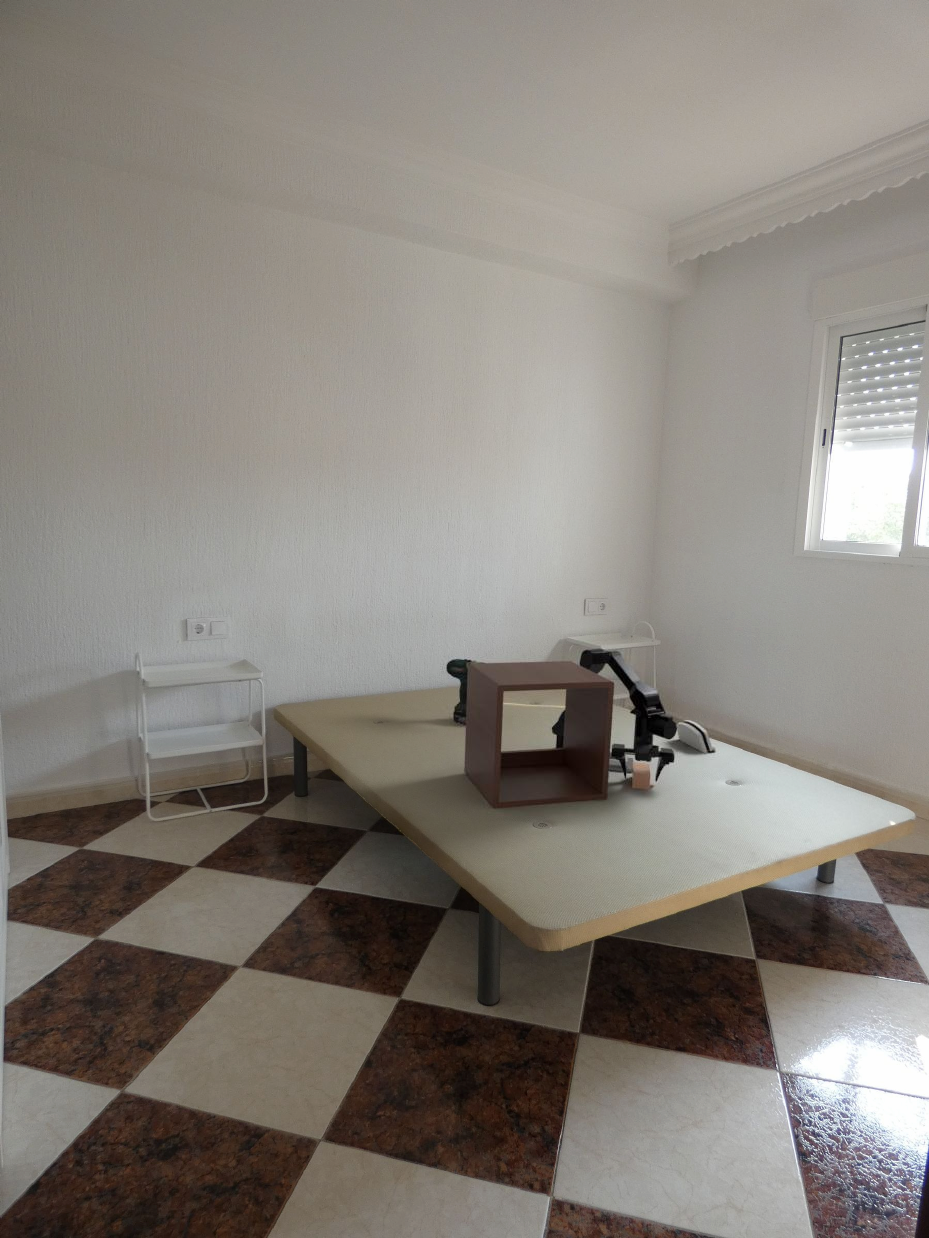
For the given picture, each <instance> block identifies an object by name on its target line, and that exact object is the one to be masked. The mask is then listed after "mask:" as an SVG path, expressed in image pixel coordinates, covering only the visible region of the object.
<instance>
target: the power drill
mask: <svg viewBox="0 0 929 1238" xmlns="http://www.w3.org/2000/svg"><path fill="white" fill-rule="evenodd" d="M474 663H484V662H483V661H476V660H471V659H467V658H465V659H461V658H455V659H451V660H449V661H448V662H447V664H446V667H445V668H446V672H447V674H449V675H450V676H451V677H453V678H455V679H458V680H459V682H460V685H459V691H458V692H459V702H458V703H457V704H456V705H455V706H454V709H453V714H452V715H453V721H454V722H456V723H458V722H460V723H459V724H462V723H464V724H463V725H466V708H467V679H468V665H469V664H474ZM446 707H447V709H448V708H449V707H448V706H446Z"/></svg>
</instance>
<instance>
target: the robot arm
mask: <svg viewBox="0 0 929 1238" xmlns="http://www.w3.org/2000/svg"><path fill="white" fill-rule="evenodd" d="M606 664H607V665H608V666H609V667H610V669H611V670H612V671H613V672H614V674H615V676H616V677H617V678H618V679H619V680H620V682H621V683H622V684H623V686H624V687H625V688H626V690H627V691H628V695H629V700H630V701H631V703H632V705H633V707H634V708H633V709H632V710H630V711H629V713H630V714H632V715H635V716H634V717H635V718H634V732H633V733H634V734H633V745H632V746H633V747H631V748H630V747H626V746H625V743H613V744H611V751H610V752H611V756H612V757H615V759H616V760H619V762H620V764H621V766H622V769H623V772H622V773H623V777H624V779H625V780H626V779H627V772H626V760H625V754H627V756H628V755H629V756H630V755H632V756H634V759H635V761H637V762H645V763H646V762H647V763H651V762H652V758H653V759H655V758H657V759H658V760H657V766H656V772H655V779H654V780H655V781H654V782H657V781H658V780H659V777H660V775H661V773H662V771H663V770H664V768H665V767H666V765H668V766H669V765H670V764H671V763H672V764H673V763H675V752H674V749H673V748H667V747H659V745H654V736H657V737H660V738H662V739H665V740H672V739H674V737H675V736H676V735H677V733H678V731H677V726H676V725H677V723H676V722H675V721H674V717H673V716H672V715H666V711H665V707H664V706H663V703H662V701H661V698H660V695H659V693H658V691H657V690H656V689H654V688H653V687H652V686H651V685H649V684H647V683H645V682H644V681H642V680H641V679H640V678H639V676H638V675H637V674H636V672H635V671H634V670H633V669H632V668H631V666H630V665H629V664H628V663H627V661H626V660H625V659H624V658H623V656H622V654H621V652H620V651H618V650H612V651H611V650H610V651H609V650H608V651H606V650H604V649H603V648H591V649H590V648H589V649H585V650H582V652H581V655H580V658H579V664H578V665H580V666H582V667H584V668H586V669H588V670H590V671H592V672H594V673H596V674H598V675H599V674H600V673H601V671H602V670H603V669H604V667H605V666H606ZM564 721H565V709H564V710H563V711H562V712H561V713H560V715H559V717H558V719H557V721H556V722H555V723H554V724H553V725H552V726H551V733H552V734H554V735H555V736H556V739H555V741H556V742H555V748H563V739H564ZM659 748H660V749H659Z"/></svg>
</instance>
